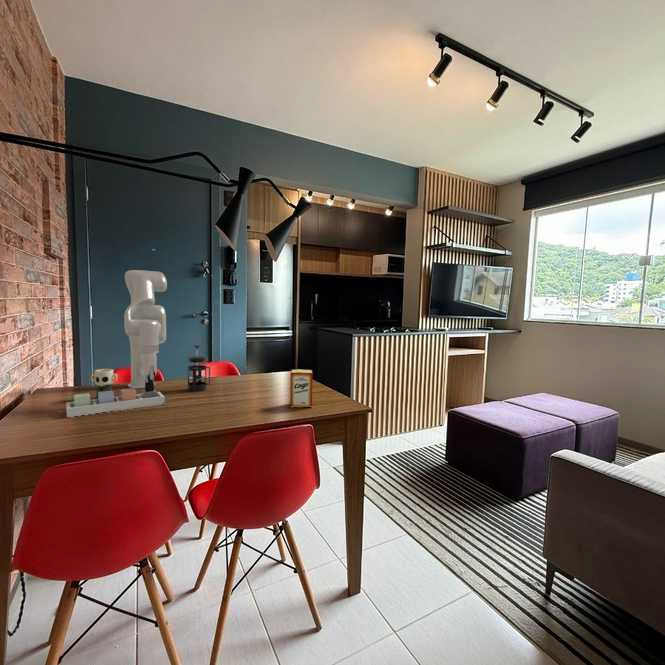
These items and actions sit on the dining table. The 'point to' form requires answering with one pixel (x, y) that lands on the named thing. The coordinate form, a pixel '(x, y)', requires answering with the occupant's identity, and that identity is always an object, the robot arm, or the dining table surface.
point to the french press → (198, 385)
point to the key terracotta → (128, 394)
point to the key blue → (105, 397)
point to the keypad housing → (113, 405)
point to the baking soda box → (301, 387)
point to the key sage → (81, 399)
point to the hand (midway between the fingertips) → (149, 391)
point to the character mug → (103, 379)
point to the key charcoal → (149, 394)
